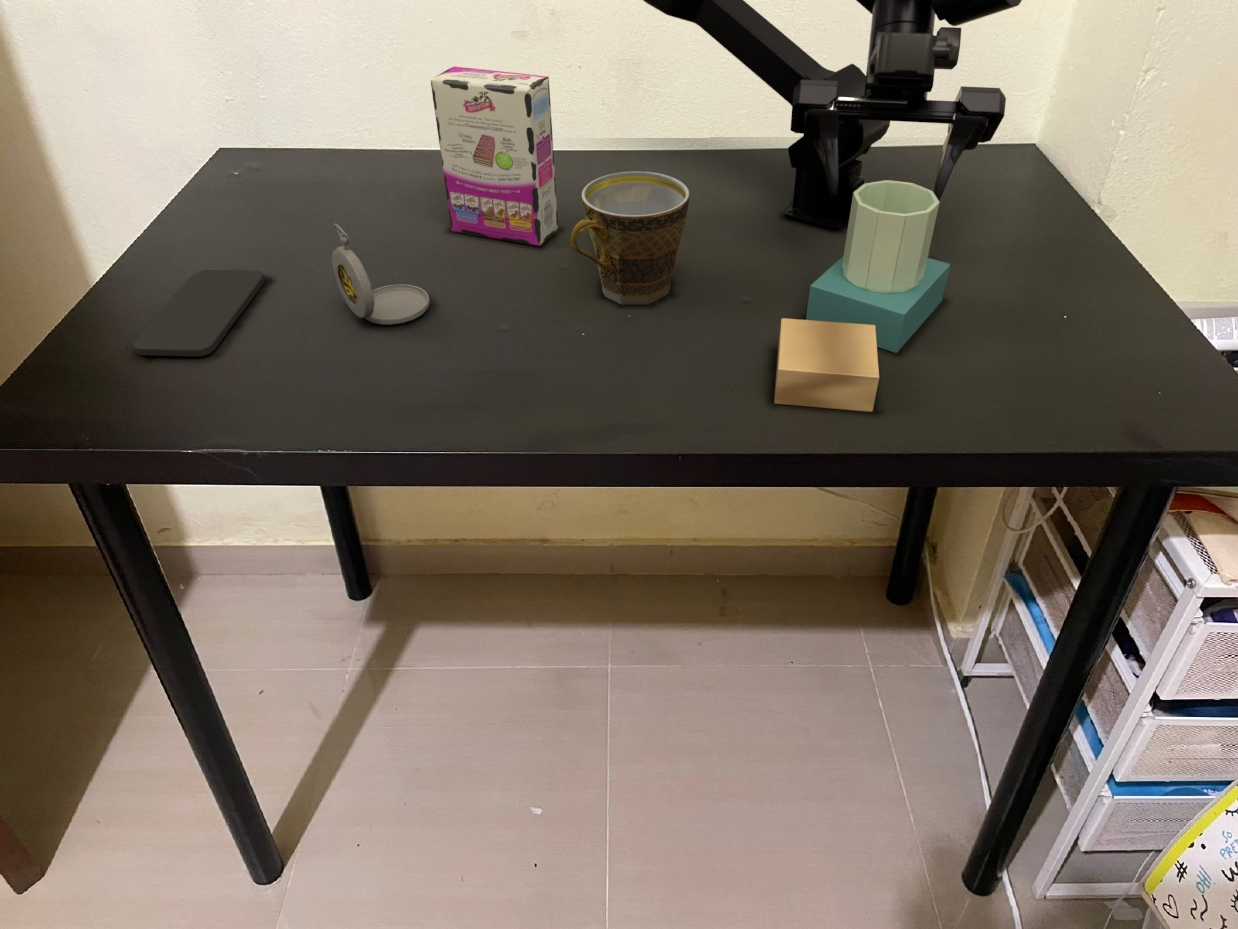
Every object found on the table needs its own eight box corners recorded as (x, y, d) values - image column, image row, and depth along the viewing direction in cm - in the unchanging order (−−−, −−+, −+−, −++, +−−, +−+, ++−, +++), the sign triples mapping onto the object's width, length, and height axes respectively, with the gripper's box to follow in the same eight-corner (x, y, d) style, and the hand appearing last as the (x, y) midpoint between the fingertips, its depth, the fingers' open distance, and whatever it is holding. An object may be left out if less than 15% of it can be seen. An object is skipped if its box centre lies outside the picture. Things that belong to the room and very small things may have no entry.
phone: (267, 270, 95) (208, 350, 84) (269, 277, 96) (210, 358, 84) (196, 269, 96) (127, 348, 84) (198, 276, 96) (130, 356, 85)
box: (805, 323, 88) (810, 285, 85) (855, 275, 95) (861, 239, 92) (896, 353, 84) (904, 314, 81) (942, 301, 91) (950, 263, 88)
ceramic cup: (635, 255, 99) (635, 162, 92) (707, 288, 93) (712, 191, 87) (541, 300, 92) (534, 203, 85) (613, 339, 86) (611, 238, 80)
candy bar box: (560, 228, 104) (552, 74, 93) (540, 248, 100) (529, 90, 90) (471, 213, 107) (453, 62, 96) (448, 231, 103) (427, 77, 93)
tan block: (773, 404, 78) (778, 368, 76) (777, 351, 84) (781, 317, 82) (872, 412, 77) (879, 377, 75) (869, 358, 83) (875, 324, 81)
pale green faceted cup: (829, 279, 86) (840, 202, 81) (863, 249, 90) (875, 173, 86) (901, 302, 83) (918, 222, 78) (933, 269, 87) (950, 191, 82)
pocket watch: (442, 298, 92) (427, 202, 86) (399, 343, 86) (380, 242, 80) (369, 286, 94) (349, 191, 88) (322, 328, 88) (297, 229, 82)
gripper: (804, -16, 82) (785, 157, 81) (1029, -10, 79) (1013, 170, 78) (799, 52, 93) (782, 205, 92) (996, 59, 90) (982, 218, 89)
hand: (884, 199), depth 87 cm, fingers open, 9 cm apart
